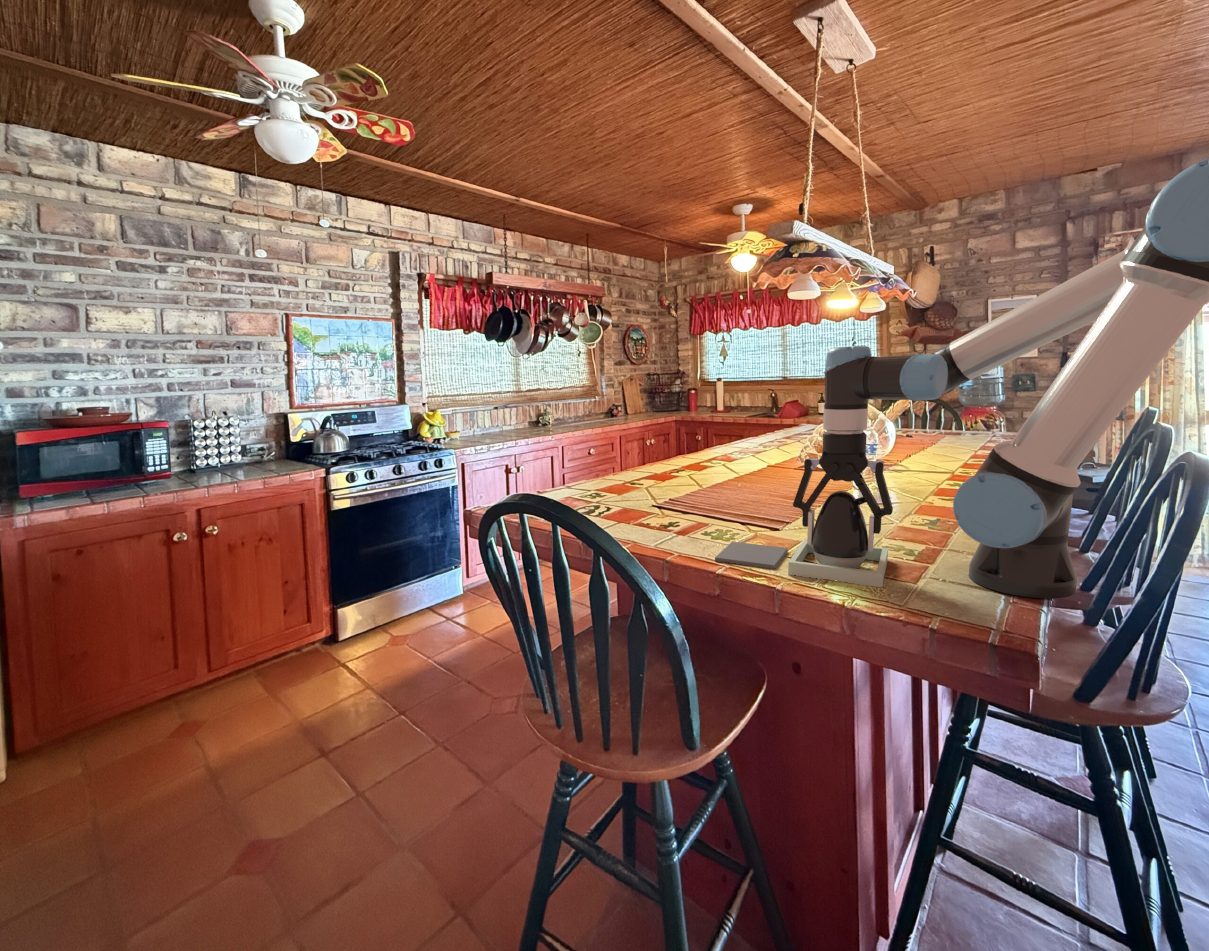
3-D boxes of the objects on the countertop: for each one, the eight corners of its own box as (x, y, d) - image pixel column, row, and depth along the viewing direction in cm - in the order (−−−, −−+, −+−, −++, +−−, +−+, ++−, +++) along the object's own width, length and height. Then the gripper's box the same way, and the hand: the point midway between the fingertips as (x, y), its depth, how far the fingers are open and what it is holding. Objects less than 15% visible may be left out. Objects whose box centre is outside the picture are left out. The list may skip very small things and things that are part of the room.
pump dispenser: (875, 577, 103) (879, 496, 101) (815, 575, 105) (818, 496, 103) (861, 559, 113) (865, 485, 110) (807, 558, 115) (809, 485, 113)
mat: (787, 551, 120) (787, 547, 120) (774, 569, 110) (774, 565, 109) (732, 544, 126) (732, 541, 125) (714, 561, 115) (714, 557, 115)
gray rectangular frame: (887, 560, 112) (888, 548, 112) (882, 587, 99) (882, 574, 98) (803, 550, 120) (804, 539, 120) (788, 574, 106) (788, 562, 106)
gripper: (914, 430, 102) (906, 547, 106) (786, 428, 113) (783, 534, 117) (913, 435, 96) (905, 559, 100) (777, 432, 107) (775, 544, 111)
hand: (839, 546), depth 109 cm, fingers closed on pump dispenser, 10 cm apart
